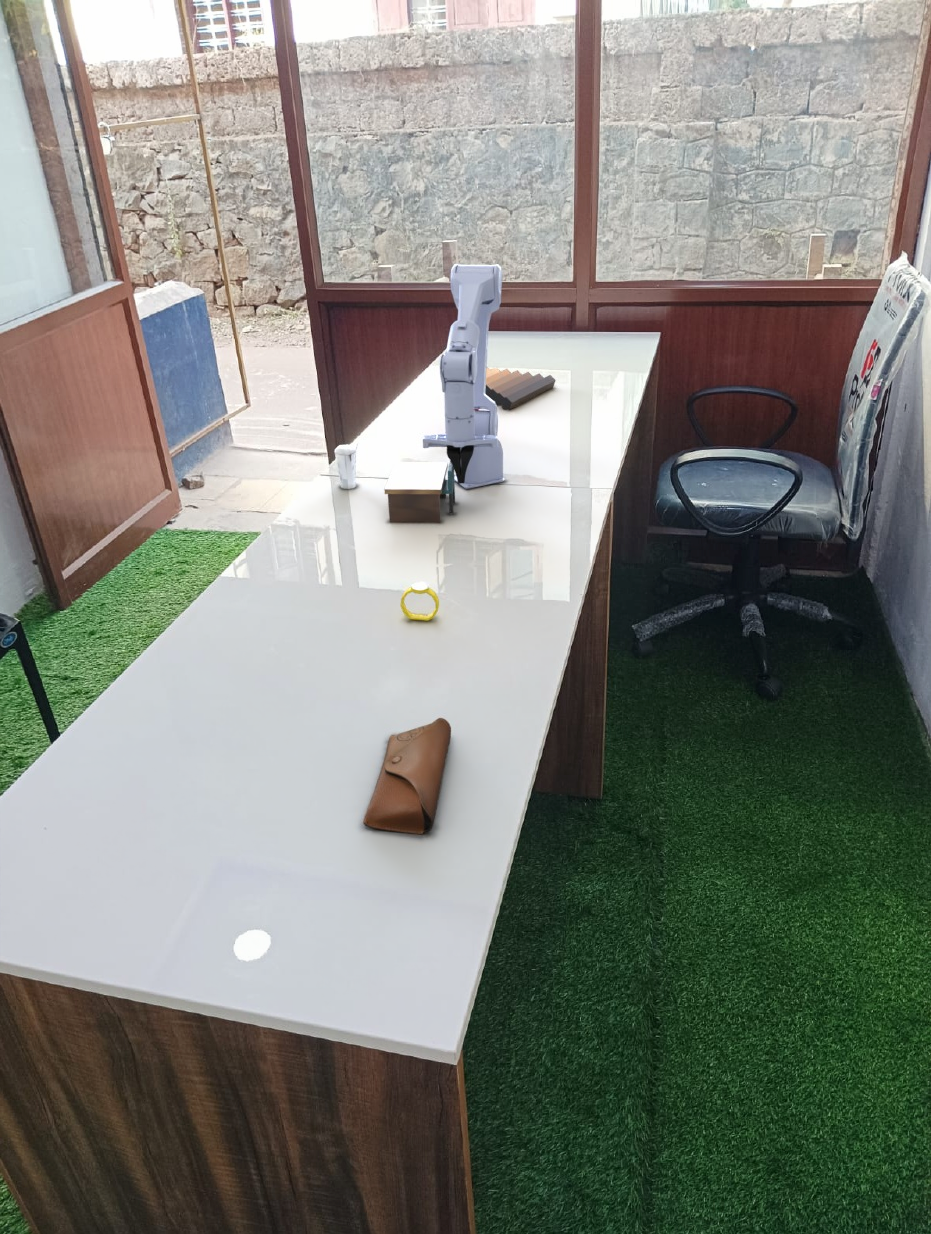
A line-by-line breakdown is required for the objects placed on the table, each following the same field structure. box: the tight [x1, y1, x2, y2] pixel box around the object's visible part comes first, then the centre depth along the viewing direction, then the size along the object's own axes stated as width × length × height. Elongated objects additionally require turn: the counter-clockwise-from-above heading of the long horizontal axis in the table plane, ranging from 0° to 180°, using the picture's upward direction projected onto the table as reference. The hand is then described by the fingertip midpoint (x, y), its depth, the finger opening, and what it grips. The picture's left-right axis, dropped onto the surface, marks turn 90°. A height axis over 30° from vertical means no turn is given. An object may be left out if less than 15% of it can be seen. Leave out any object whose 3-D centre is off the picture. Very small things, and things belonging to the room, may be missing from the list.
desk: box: [384, 461, 449, 524], centre depth 184 cm, size 11×15×7 cm
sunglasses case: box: [362, 717, 452, 835], centre depth 111 cm, size 18×7×7 cm
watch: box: [400, 581, 440, 622], centre depth 145 cm, size 6×3×6 cm, turn 84°
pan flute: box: [485, 366, 556, 411], centre depth 257 cm, size 25×3×25 cm
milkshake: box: [334, 442, 360, 490], centre depth 195 cm, size 4×5×10 cm
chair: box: [442, 460, 456, 515], centre depth 183 cm, size 8×6×9 cm
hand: (461, 481), depth 182 cm, fingers closed
